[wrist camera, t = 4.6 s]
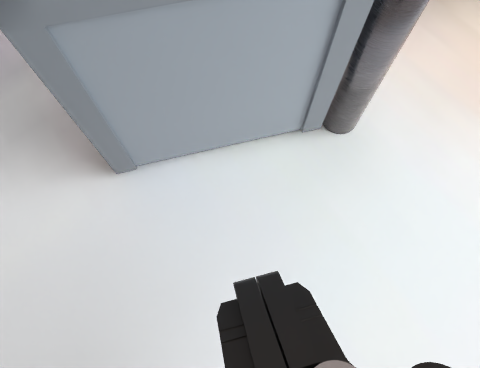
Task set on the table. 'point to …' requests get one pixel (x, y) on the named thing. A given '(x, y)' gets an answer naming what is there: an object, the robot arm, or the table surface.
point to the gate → (186, 68)
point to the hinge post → (371, 60)
